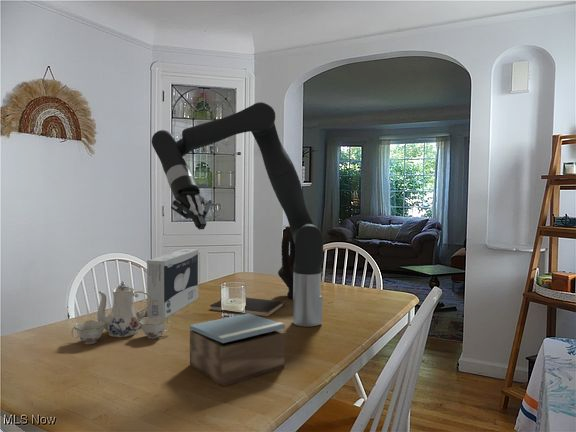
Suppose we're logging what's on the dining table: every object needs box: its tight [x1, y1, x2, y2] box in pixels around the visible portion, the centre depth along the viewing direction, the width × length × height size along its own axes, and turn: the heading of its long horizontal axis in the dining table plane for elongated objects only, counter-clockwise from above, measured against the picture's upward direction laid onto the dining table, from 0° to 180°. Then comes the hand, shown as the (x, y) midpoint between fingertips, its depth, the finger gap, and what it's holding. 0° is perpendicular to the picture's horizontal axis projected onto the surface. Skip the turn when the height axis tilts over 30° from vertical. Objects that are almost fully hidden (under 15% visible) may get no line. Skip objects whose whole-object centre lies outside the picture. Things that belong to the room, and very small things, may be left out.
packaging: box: [146, 248, 199, 318], centre depth 169 cm, size 30×6×20 cm, turn 168°
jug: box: [277, 225, 323, 299], centre depth 188 cm, size 21×18×30 cm
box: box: [189, 329, 286, 387], centre depth 115 cm, size 16×18×9 cm
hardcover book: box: [209, 297, 284, 317], centre depth 171 cm, size 16×23×2 cm
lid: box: [189, 313, 286, 343], centre depth 115 cm, size 16×18×1 cm
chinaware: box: [71, 280, 173, 345], centre depth 137 cm, size 28×17×17 cm, turn 113°
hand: (202, 227), depth 127 cm, fingers closed
